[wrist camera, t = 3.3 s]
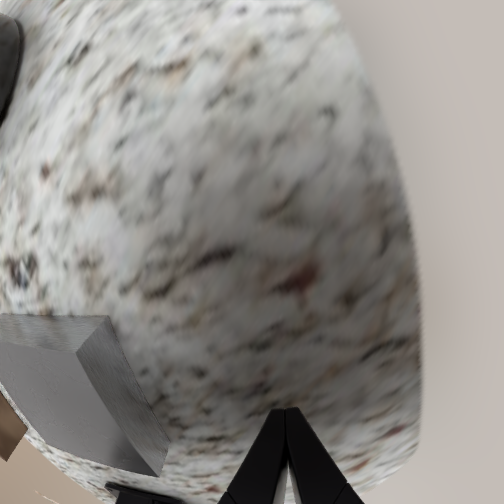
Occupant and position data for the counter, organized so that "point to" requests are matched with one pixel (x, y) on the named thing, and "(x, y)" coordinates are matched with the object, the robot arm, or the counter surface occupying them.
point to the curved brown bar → (9, 429)
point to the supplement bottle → (8, 57)
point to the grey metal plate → (80, 390)
